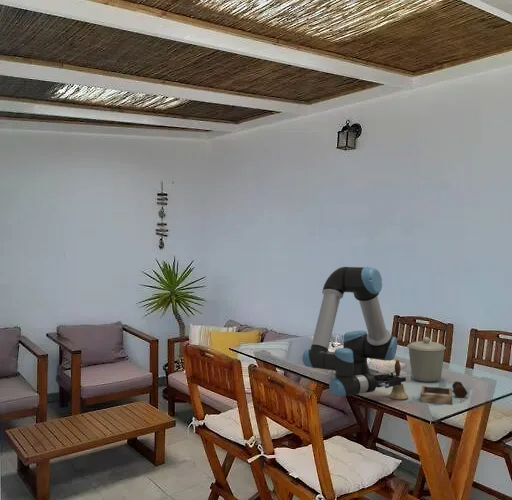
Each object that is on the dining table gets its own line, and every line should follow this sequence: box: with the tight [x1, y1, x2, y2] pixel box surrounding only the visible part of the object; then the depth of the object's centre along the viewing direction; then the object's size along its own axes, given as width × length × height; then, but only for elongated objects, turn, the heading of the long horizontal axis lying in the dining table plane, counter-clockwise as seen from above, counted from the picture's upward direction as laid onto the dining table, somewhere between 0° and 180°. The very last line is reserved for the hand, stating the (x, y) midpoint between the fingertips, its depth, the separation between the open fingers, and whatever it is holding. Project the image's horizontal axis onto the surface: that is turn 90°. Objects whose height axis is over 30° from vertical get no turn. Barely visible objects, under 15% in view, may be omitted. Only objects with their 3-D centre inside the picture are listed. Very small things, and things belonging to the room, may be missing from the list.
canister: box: [406, 336, 447, 383], centre depth 258 cm, size 18×18×21 cm
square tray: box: [420, 385, 453, 405], centre depth 228 cm, size 12×12×4 cm
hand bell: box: [388, 359, 409, 400], centre depth 230 cm, size 8×8×16 cm
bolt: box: [451, 381, 468, 399], centre depth 236 cm, size 6×5×15 cm
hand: (408, 377), depth 232 cm, fingers closed on hand bell, 2 cm apart
